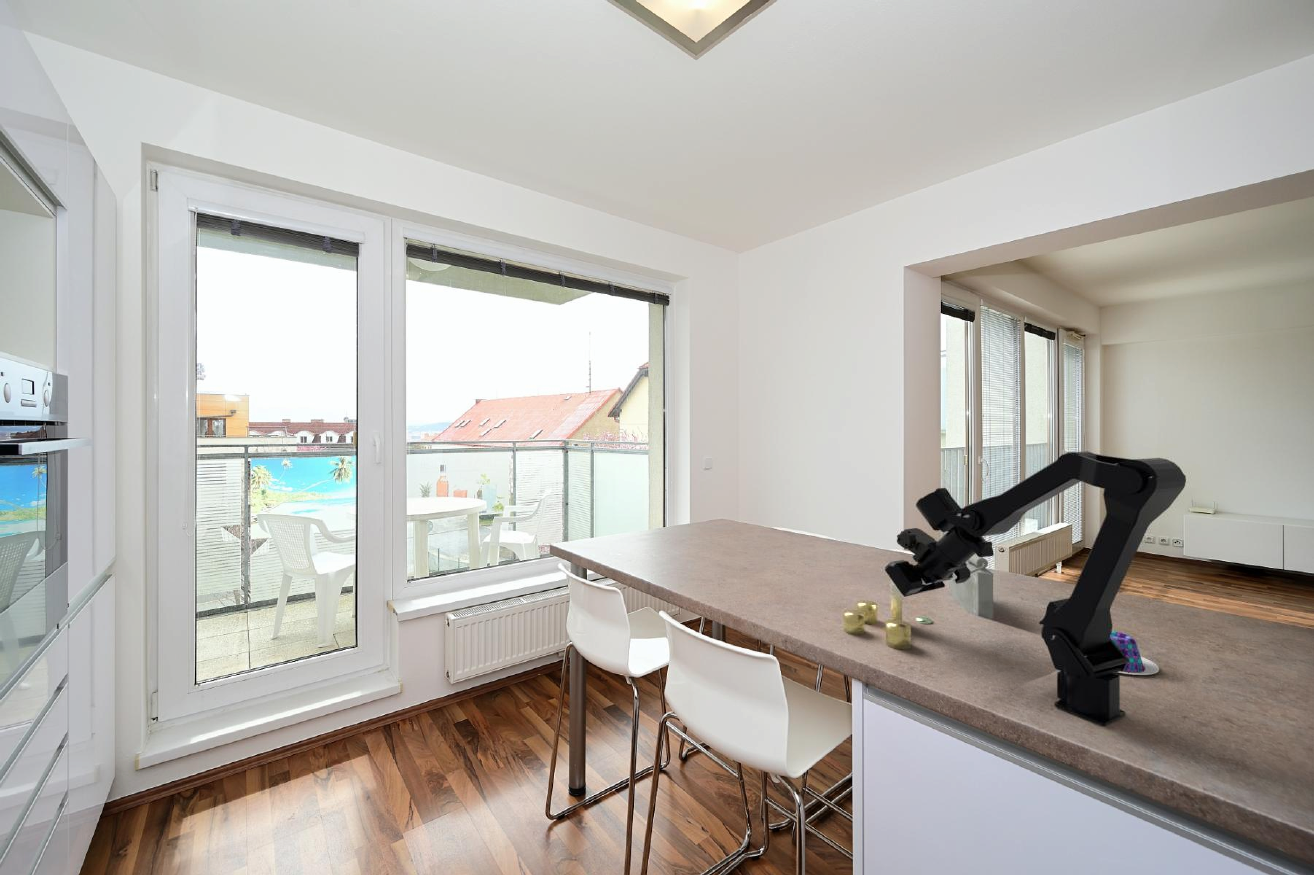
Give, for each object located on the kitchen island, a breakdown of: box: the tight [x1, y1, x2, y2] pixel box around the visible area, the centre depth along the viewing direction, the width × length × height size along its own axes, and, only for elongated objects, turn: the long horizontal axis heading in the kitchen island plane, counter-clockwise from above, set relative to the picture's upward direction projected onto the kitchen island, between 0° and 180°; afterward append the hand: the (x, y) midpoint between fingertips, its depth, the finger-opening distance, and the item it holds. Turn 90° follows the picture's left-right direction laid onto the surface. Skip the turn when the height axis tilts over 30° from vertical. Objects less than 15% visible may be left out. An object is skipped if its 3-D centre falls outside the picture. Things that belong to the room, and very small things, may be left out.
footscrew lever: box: [885, 579, 912, 650], centre depth 107 cm, size 15×4×9 cm, turn 158°
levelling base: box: [843, 600, 932, 636], centre depth 108 cm, size 22×22×5 cm
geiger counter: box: [948, 553, 994, 622], centre depth 130 cm, size 14×6×25 cm
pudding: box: [1110, 630, 1160, 676], centre depth 97 cm, size 12×12×5 cm
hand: (903, 594), depth 112 cm, fingers closed
